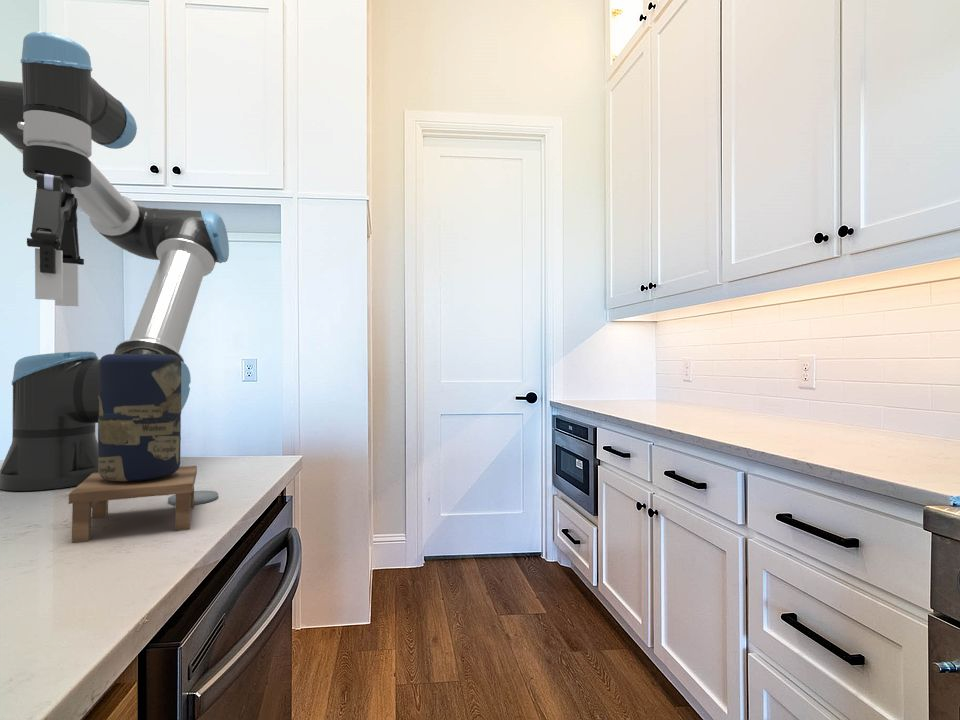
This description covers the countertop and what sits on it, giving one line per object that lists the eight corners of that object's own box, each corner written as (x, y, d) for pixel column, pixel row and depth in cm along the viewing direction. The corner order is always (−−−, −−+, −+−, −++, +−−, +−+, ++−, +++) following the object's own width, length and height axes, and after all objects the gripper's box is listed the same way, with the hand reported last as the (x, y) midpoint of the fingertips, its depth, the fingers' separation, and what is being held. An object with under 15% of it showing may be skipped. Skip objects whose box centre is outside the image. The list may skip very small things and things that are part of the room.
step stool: (92, 515, 74) (92, 472, 74) (196, 504, 80) (196, 465, 80) (68, 543, 62) (68, 493, 62) (191, 529, 68) (192, 483, 68)
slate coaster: (170, 496, 84) (170, 493, 84) (218, 492, 87) (218, 488, 87) (165, 507, 78) (165, 503, 78) (218, 502, 81) (218, 498, 81)
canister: (140, 488, 65) (142, 345, 66) (78, 483, 67) (80, 345, 67) (196, 472, 75) (197, 347, 75) (140, 469, 77) (142, 347, 77)
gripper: (42, 172, 82) (43, 306, 83) (-3, 112, 61) (-2, 294, 61) (100, 180, 86) (101, 309, 87) (77, 127, 65) (78, 298, 65)
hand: (58, 303), depth 74 cm, fingers open, 13 cm apart
